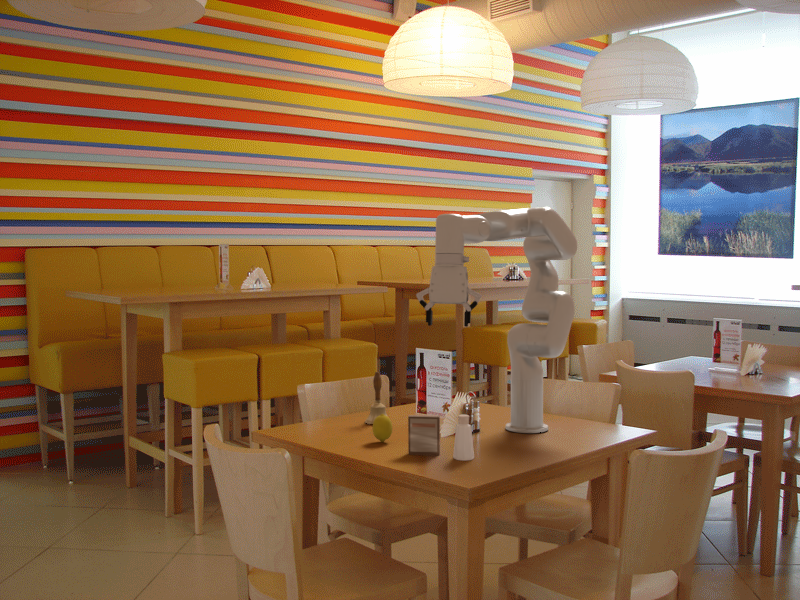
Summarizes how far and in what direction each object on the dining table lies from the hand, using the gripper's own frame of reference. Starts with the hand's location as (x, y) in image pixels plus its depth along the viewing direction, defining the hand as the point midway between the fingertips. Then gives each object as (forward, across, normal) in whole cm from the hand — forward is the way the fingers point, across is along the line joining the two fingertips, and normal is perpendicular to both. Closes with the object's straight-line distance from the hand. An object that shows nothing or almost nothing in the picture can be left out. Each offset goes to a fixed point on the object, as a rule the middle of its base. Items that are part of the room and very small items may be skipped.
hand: (448, 325), depth 202 cm
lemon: (+33, +18, -6) cm, 39 cm away
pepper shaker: (+33, -6, +8) cm, 35 cm away
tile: (+33, +5, +5) cm, 34 cm away
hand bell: (+33, +26, -33) cm, 53 cm away
